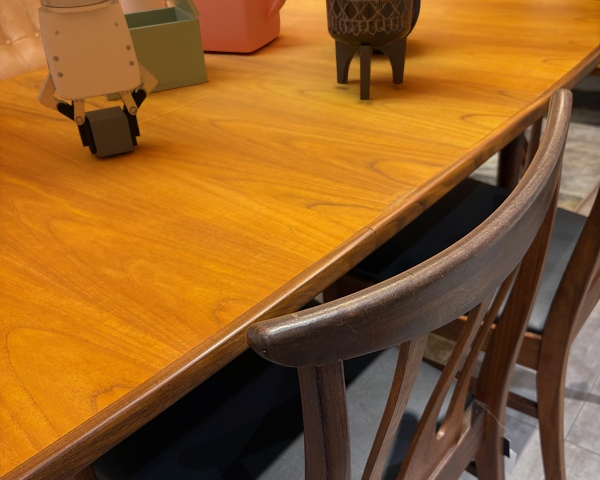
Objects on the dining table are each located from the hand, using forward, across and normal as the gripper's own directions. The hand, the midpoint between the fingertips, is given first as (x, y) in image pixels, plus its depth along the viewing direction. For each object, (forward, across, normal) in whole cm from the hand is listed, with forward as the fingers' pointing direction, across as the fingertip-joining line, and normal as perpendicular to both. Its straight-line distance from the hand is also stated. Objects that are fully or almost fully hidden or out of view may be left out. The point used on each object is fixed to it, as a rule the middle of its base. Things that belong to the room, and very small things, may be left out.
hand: (112, 145), depth 79 cm
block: (0, 0, 0) cm, 0 cm away
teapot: (+1, -34, -43) cm, 55 cm away
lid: (-17, -16, -28) cm, 36 cm away
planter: (+1, -40, -4) cm, 41 cm away
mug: (+1, -17, -49) cm, 52 cm away
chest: (+1, -11, -28) cm, 30 cm away
